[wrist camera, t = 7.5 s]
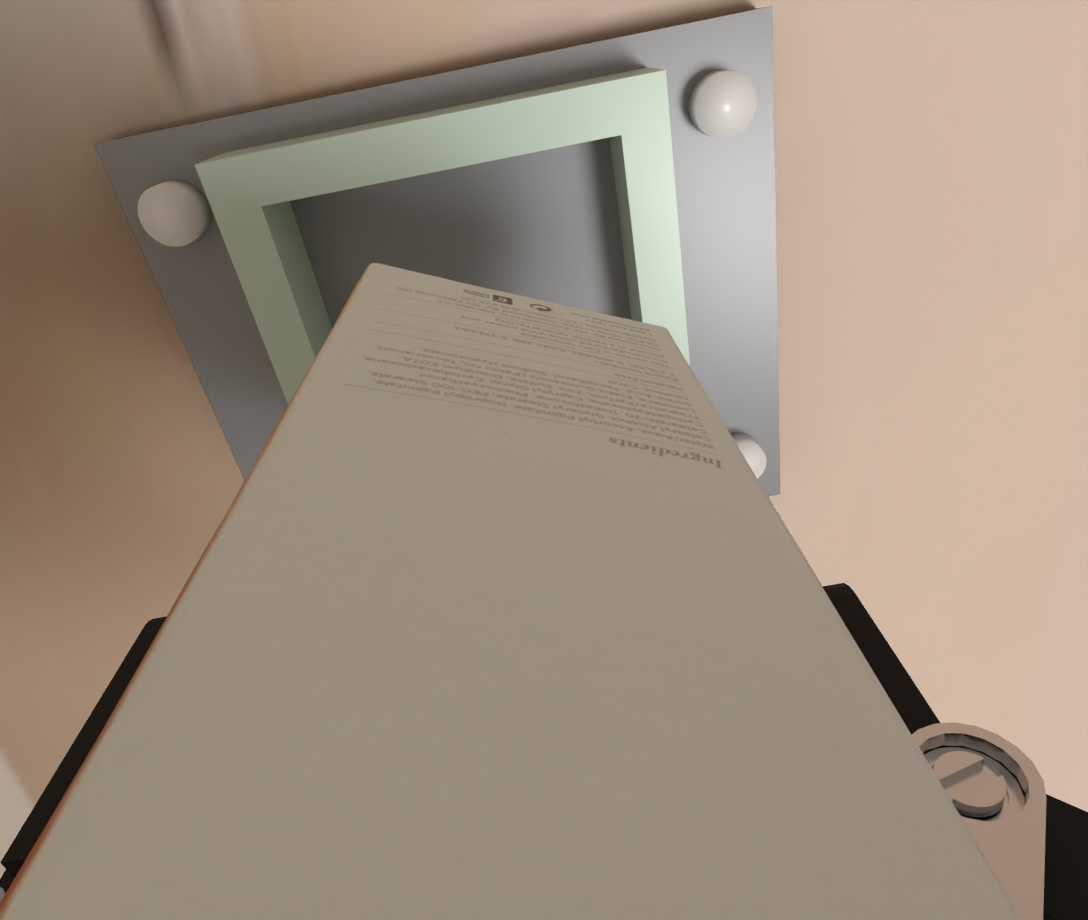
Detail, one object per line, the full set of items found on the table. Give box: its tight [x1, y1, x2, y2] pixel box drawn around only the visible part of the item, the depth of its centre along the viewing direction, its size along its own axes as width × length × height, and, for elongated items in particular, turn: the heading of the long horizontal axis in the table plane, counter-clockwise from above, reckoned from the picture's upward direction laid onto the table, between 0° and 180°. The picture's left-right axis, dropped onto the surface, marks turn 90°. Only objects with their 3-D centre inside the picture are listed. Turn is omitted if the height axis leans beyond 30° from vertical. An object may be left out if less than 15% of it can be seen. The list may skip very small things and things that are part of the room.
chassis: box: [94, 7, 780, 496], centre depth 22 cm, size 15×18×4 cm
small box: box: [0, 263, 1022, 920], centre depth 11 cm, size 8×6×13 cm
